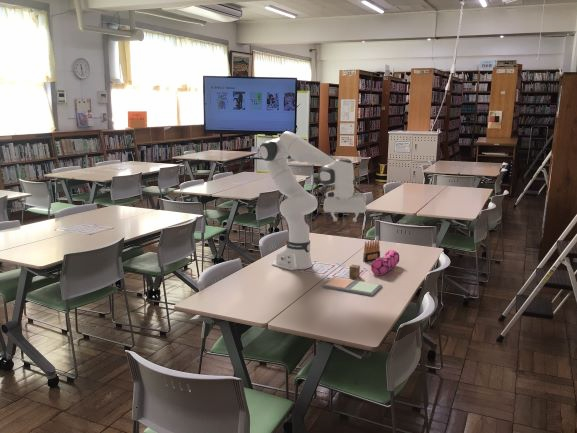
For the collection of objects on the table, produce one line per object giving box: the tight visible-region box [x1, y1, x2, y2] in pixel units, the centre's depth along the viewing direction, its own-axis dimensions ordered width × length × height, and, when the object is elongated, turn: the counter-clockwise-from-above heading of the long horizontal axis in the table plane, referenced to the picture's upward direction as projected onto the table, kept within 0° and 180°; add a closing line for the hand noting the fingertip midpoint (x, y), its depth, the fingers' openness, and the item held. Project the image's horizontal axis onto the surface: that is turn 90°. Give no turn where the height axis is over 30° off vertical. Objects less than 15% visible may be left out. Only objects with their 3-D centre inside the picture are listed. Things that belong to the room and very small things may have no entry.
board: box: [322, 276, 383, 297], centre depth 234 cm, size 25×14×1 cm, turn 61°
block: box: [348, 264, 361, 280], centre depth 247 cm, size 4×4×6 cm
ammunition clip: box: [362, 238, 381, 263], centre depth 274 cm, size 11×2×12 cm, turn 119°
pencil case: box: [370, 249, 400, 276], centre depth 257 cm, size 21×10×10 cm, turn 150°
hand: (344, 221), depth 233 cm, fingers open, 8 cm apart
